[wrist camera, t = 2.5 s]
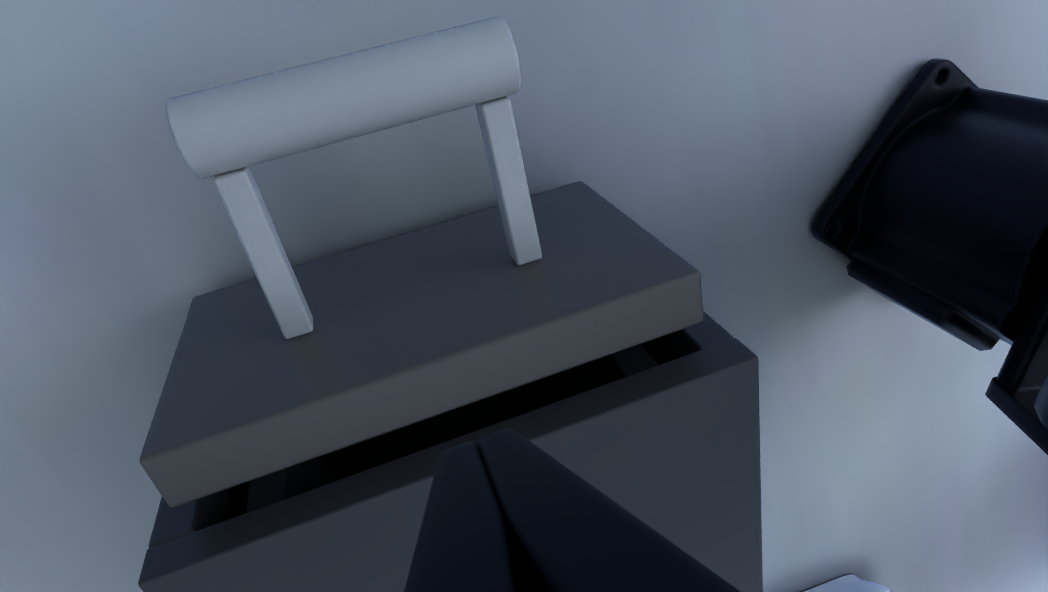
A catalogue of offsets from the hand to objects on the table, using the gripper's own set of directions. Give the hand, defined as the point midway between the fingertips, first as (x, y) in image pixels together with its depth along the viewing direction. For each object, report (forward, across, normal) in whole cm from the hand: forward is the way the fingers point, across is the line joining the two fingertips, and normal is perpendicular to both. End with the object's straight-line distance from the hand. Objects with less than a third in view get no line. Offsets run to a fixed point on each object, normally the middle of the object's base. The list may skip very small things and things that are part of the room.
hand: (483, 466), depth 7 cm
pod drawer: (+10, 0, +5) cm, 11 cm away
